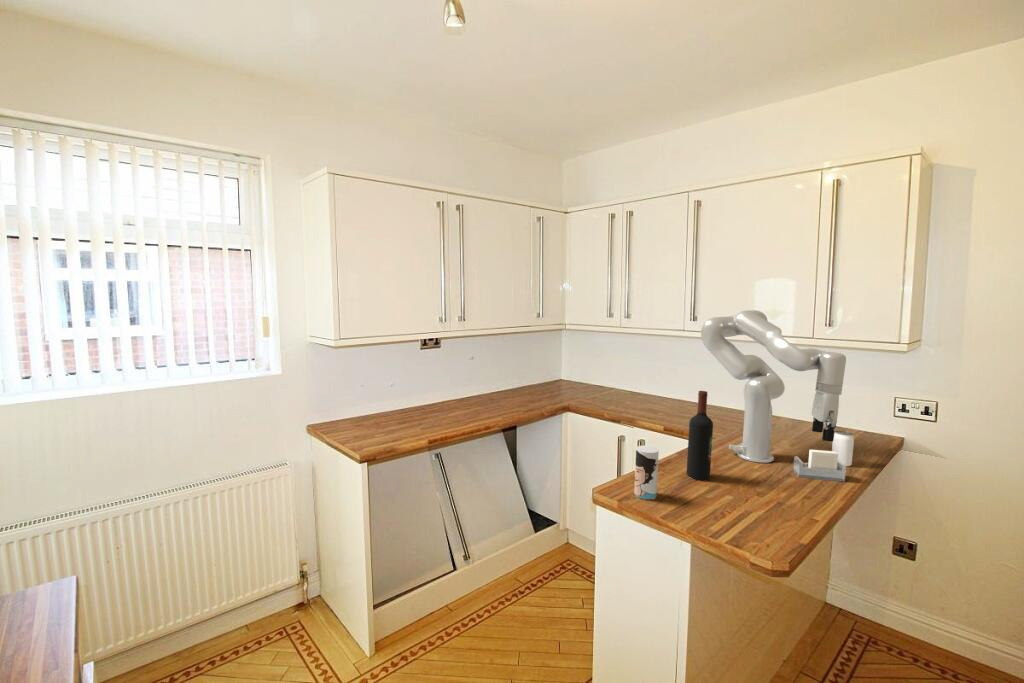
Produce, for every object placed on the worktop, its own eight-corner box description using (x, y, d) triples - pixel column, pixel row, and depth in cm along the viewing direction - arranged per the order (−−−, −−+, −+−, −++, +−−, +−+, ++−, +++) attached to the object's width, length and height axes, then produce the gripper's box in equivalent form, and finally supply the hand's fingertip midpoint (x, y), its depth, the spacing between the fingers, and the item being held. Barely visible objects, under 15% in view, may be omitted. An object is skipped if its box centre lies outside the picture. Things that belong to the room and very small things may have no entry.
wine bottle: (683, 472, 169) (688, 389, 166) (705, 472, 169) (710, 389, 166) (690, 480, 162) (695, 393, 158) (713, 481, 162) (718, 394, 158)
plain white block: (810, 474, 166) (812, 451, 166) (807, 471, 169) (809, 449, 168) (836, 476, 165) (838, 454, 164) (833, 473, 167) (835, 451, 166)
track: (798, 477, 166) (799, 462, 165) (793, 470, 172) (794, 456, 171) (844, 481, 163) (846, 466, 162) (837, 475, 168) (838, 460, 168)
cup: (640, 489, 154) (642, 444, 153) (659, 495, 150) (662, 448, 148) (630, 495, 149) (632, 449, 148) (650, 502, 145) (652, 454, 143)
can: (831, 459, 184) (834, 429, 183) (852, 463, 180) (855, 432, 179) (829, 464, 179) (832, 433, 178) (850, 468, 175) (853, 436, 174)
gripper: (807, 381, 173) (801, 427, 175) (825, 393, 156) (819, 443, 159) (831, 383, 171) (824, 429, 173) (852, 395, 154) (844, 446, 157)
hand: (822, 436), depth 166 cm, fingers open, 9 cm apart
